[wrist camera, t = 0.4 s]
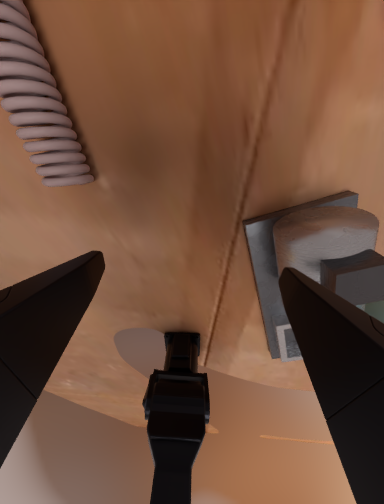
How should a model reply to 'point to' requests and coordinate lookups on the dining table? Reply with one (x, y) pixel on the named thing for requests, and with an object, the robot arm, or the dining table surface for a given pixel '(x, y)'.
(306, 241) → the motor plate
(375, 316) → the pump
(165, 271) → the dining table surface
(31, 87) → the coil
